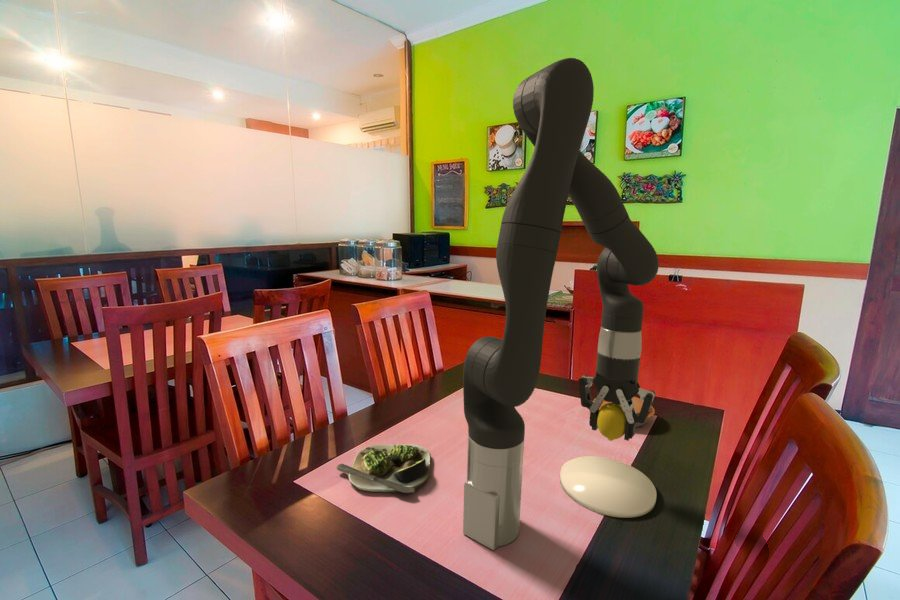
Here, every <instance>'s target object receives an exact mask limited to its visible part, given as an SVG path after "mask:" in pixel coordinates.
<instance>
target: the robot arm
mask: <svg viewBox="0 0 900 600" xmlns="http://www.w3.org/2000/svg"><path fill="white" fill-rule="evenodd" d="M594 86H595V85H594V81H593V77H592V73H591V71H590V69H589V68H588V66H587V65H586V63H585V62H584V61H583V60H581V59H579V58H576V57H566V58H563V59H559V60H557V61H554V62H553V63H550V64H549V65H547V66H545V67H543V68H542V69H540V70H538V71H536V72H534V73H533V74H532V75H530V76H528V77H525V79H523V80H522V81H521V82H520V83H519V84H518V86H517V87H516V89H515V90H514V91H515V92H514V94H513V99H512V109H513V115H514V117H515V120H516V121H517V123H518V126H520V128H521V130H522V132H523V133H524V135H525V136H526V137H527V138H528V140H529V142H530V143H531V144H532V146H533V147H534V149H533V152H532V155H531V158H530V160H529V163H528V165H527V167H526V169H525V170H524V173H523V175H522V176H521V178H520V180H519V182H518V183H517V185H516V187H515V189H514V190H513V192H512V193H511V196H510V198H509V200H508V202H507V204H506V206H505V208H504V212H503V214H502V218H501V222H500V223H501V224H500V228H499V233H498V239H497V243H496V252H495V258H496V259H495V260H496V267H497V272H498V277H499V280H500V281H499V282H500V285H501V288H502V289H501V290H502V292H503V297H504V298H503V299H504V303H505V323H504V329H503V336H502V338H500V337H496V336H490V335H488V336H487V335H486V336H482V337H481V338H479V339H477V340H475V342H473V343H472V345H471V346H470V347H469V349H468V351H467V352H466V356H465V358H464V363H463V370H462V373H463V374H462V384H463V385H462V390H463V391H462V392H463V393H462V395H463V413H464V418H465V421H466V423H467V427H468V430H467V435H468V436H467V460H466V461H467V465H466V467H467V469H466V480H465V482H464V484H463V487H464V488H463V512H462V513H463V515H462V516H463V517H462V519H463V520H462V534H464V535H465V536H467V537H469V538H471V539H472V540H474V541H476V542H477V543H479V544H481V545H482V546H485V547H486V548H488V549H490V550H492V551H495V550H496V549H497V548H498V547H502V546H506V545H509V544H511V543H512V542H513V541H515V540H516V539H517V538H518V535H519V534H520V523H521V522H520V521H521V503H522V502H521V501H522V487H523V486H522V485H523V483H522V482H523V467H524V451H525V433H526V432H525V430H526V427H525V426H526V424H525V421H524V418H523V417H522V415H521V414H520V412H519V411H518V410H517V409H516V408H515V407H519V406H521V405H523V404H525V403H526V402H527V401H528V400H529V399H530V397H531V396H532V394H533V392H534V391H535V389H536V386H537V384H538V380H539V377H540V370H541V364H542V355H543V354H542V353H543V342H544V333H545V332H544V331H545V324H546V323H545V322H546V316H547V308H548V302H549V295H550V291H551V290H550V289H551V283H552V278H553V275H554V269H555V265H556V261H557V260H556V259H557V257H558V251H559V246H560V241H561V236H562V231H563V223H564V218H565V217H564V216H565V213H566V207H567V202H568V199H569V198H570V200H571V202H572V203H573V205H574V207H575V209H576V210H577V211H576V212H577V213H578V215H579V217H580V219H581V221H582V223H583V225H584V227H585V229H586V230H587V232H588V235H589V237H590V239H591V240H592V241H593V242H594V243H595V244H597V245H599V246H601V247H604V248H603V250H601V252H600V255H598V258H597V262H596V276H597V280H598V286H599V293H600V297H601V302H602V309H601V311H602V313H601V323H600V324H601V325H600V330H599V334H598V339H597V340H598V342H597V352H596V353H597V354H596V365H595V367H596V368H595V375H594V376H589V375H587V374H583V375H582V376H581V377H579V378H578V388H579V397H580V405H581V406H582V407H583V408H586V409H588V410H589V427H591V430H593V431H597V430H599V429H598V426H597V417H598V413H599V407H600V406H601V404H602V403H603V401H607V402H614V403H615V404H618V405H621V407H622V409H623V412H625V415H626V418H627V422H626V425H625V434H624V435H623V436H624V437H623V440H624V441H627V442H629V440H630V439H631V440H632V439H633V437H634V436H635V434H636V427H635V426H636V423H637V422H639V423H644V422H645V420H646V419H647V417H648V414H649V411H650V409H651V406H652V407H653V403H654V400H655V396H656V392H655V391H654V390H647V389H644V388H642V387H640V384H639V372H640V363H641V356H642V355H641V354H642V350H643V348H642V346H643V345H642V343H643V341H642V328H643V320H644V303H643V300H641V299H640V298H638V297H636V296H634V295H633V294H632V293H631V291H630V288H629V285H631V286H636V287H637V286H645V285H648V284H649V283H651V282H652V281H653V280H654V279H656V278H655V277H656V276H657V274H658V271H659V258H658V255H657V251H656V250H655V248H654V246H653V245H652V243H651V242H650V241H649V240H648V238H647V237H646V236H645V235H644V234H643V232H642V231H641V230H640V228H638V226H637V225H636V224H635V223H634V222H633V221H632V219H631V218H630V214H629V213H628V210H627V208H626V206H625V204H624V201H623V200H622V197H621V195H620V194H619V191H618V190H617V188H616V186H615V185H614V184H613V182H612V180H610V179H609V177H608V176H607V175H606V174H605V173H604V172H603V171H602V170H600V168H598V167H597V166H596V165H595V164H594V163H593V162H592V161H591V160H590V159H588V158H587V157H586V155H585V154H584V153H583V152H582V151H581V147H582V142H583V139H584V137H585V135H586V130H587V127H588V123H589V121H590V116H591V112H592V108H593V105H594V104H593V103H594V92H595V90H594V89H595V87H594ZM593 385H594V387H595V388H596V389H595V390H596V391H597V392H598V394H597V396H596V397H595V398H596V399H595V398H594V399H595V400H594V399H593V400H592V397H591V387H592V386H593ZM637 394H638V396H639V399H640V400H641V401H642V402H643V405H642V408H641V411H640V413H638V414H636V411H635V408H634V402H633V399H632V398H633V397H636V396H637ZM593 401H594V402H593Z"/></svg>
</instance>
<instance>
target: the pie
mask: <svg viewBox="0 0 900 600" xmlns="http://www.w3.org/2000/svg"><path fill="white" fill-rule="evenodd" d="M595 399H596V397H595V398H594V399H593V400H592V401H593V402H594V400H595ZM632 399H633V402H634V408H635V411H636V414H638V413H640V411H641V408H642V405H643V402H642V401H641V400H640V397H637V396H634V397H633V398H632ZM607 403H612V402H607V401H603V403H602V404H601V406H600V407H599V410H600V409H601V407H602V406H604V405H605V404H607ZM620 406H621V405H620ZM655 413H656V410H655V408H654V407H653V405H652V406H651V409H650V411H649V414H648V417H647V419H646V420H645V422H644V423H639V422H637V423H636V426H635V428H639V427H642V426H644V425H645V424H646V423H647V422H649V420H650V419H652V418H653V417H654V415H655Z"/></svg>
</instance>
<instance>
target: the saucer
mask: <svg viewBox="0 0 900 600" xmlns="http://www.w3.org/2000/svg"><path fill="white" fill-rule="evenodd" d="M559 475H560V476H559V483H560V485H561V487H562V490H563V491H564V492H565V494H566V495H567V496H568V497H569V498H571V500H573V501H574V502H576V503H577V504H578V505H580V506H582V507H583V508H586V509H587V510H589V511H591V512H594V513H598V514H601V515H604V516H608V517H612V518H620V519H621V518H623V519H625V518H626V519H627V518H632V519H633V518H637V517H642V516H644V515H647V514H648V513H650V512H651V511H652V510H653V509H654V507H655V505H656V502H657V489H656V487H655V485H654V484H653V482H652V481H651V479H650V478H649V477H648V476H646V474H644V473H643V472H642V471H640V470H638V469H637V468H635V467H633V466H631V465H629V464H628V463H625V462H622V461H619V460H616V459H613V458H609V457H605V456H604V457H603V456H596V455H595V456H593V455H587V456H579V457H575V458H572V459H570V460H568V461H566V462H565V463H564V464H563V465H562V467H561V468H560V474H559Z"/></svg>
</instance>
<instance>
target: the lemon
mask: <svg viewBox="0 0 900 600" xmlns="http://www.w3.org/2000/svg"><path fill="white" fill-rule="evenodd" d="M626 422H627V418H626V415H625V412H623V409H622V407H621V406H620V405H618V404H615V403H614V402H612V403H607V404H605V405H604V406H602V407H601V409H600V410H599V413H598V417H597V426H598V429H597V430H598V431H599V432H600V434H601V435H602V436H604V437H605V438H606V439H608V441H610V442H611V441H614V440H619V439H620V438H622V437H623V436H624V435H625V425H626Z"/></svg>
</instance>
